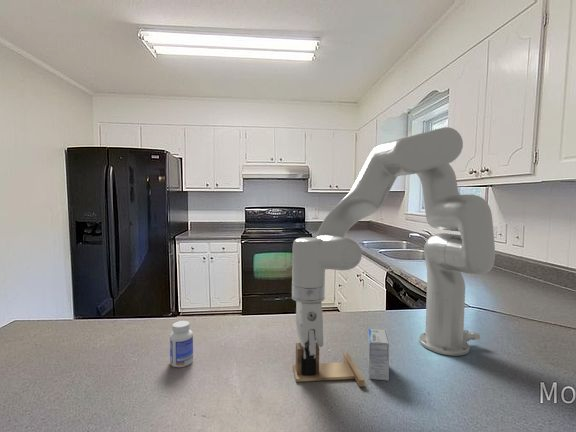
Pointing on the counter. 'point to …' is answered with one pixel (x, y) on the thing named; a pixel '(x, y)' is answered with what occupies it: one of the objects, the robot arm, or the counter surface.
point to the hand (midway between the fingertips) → (307, 369)
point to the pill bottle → (181, 344)
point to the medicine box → (378, 354)
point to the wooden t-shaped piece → (327, 368)
